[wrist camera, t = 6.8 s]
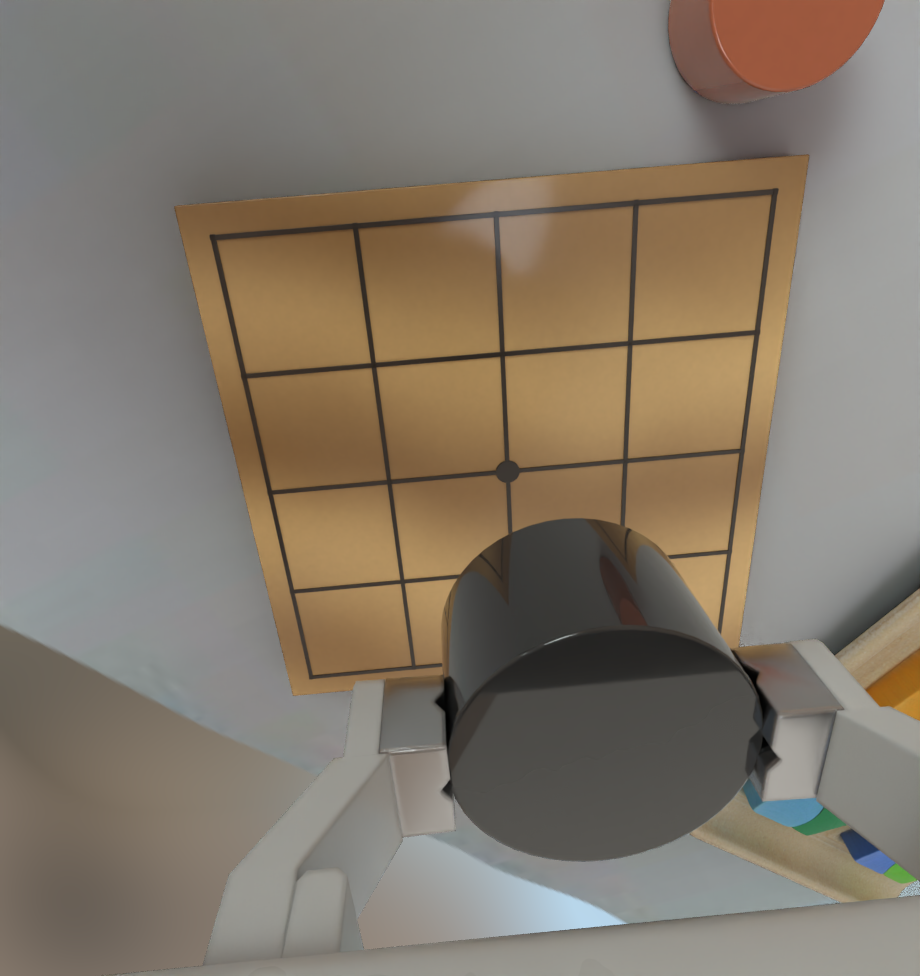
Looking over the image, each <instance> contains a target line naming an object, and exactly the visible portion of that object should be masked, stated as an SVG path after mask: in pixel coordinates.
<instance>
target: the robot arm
mask: <svg viewBox="0 0 920 976" xmlns="http://www.w3.org/2000/svg"><path fill="white" fill-rule="evenodd" d="M730 649H731V651H732V652H733V654H734V655H735V657H736V658H737V660H738V661H739V663H740V664H741V666H742V667H743V669H744V670H745V672H746V673H747V675H748V676H749V678H750V679H751V681H752V683H753V685H754V687H755V689H756V691H757V693H758V695H759V699H760V702H761V706H762V710H763V727H762V734H763V742H762V746H761V750H760V752H759V754H758V757H757V761H756V764H755V767H754V769H753V771H752V773H751V775H750V776H749V779H750V781H751V782H752V784H753V786H754V788H755V790H756V791H757V793H758V795H759V797H760V798H761V800H762V802H763V801H778V800H792V799H807V798H816V801H817V802H818V803H820V804H821V805H822V806H823V807H825V808H826V809H827V810H829V811H830V812H831V813H832V814H834V815H835V816H836V817H837V818H839V819H840V820H841V821H843V822H844V823H845V824H846V825H848V826H849V827H850V828H852V829H853V830H854V831H855V832H857V833H858V834H859V835H861V836H862V837H863V838H864V839H866V840H867V841H868V842H869V843H871V844H872V845H873V846H875V847H876V848H877V849H878V850H880V851H881V852H882V853H884V854H885V855H886V856H887V857H889V858H890V859H891V860H893V861H894V862H895V863H896V864H898V865H899V866H900V867H902V868H903V869H904V870H905V871H907V872H908V873H909V874H910V875H912V876H913V877H914V878H916V879H917V880H918V881H919V882H920V721H919V720H916V719H914V718H912V717H910V716H908V715H906V714H904V713H902V712H900V711H898V710H896V709H894V708H892V707H890V706H886V707H880V706H879V705H878V704H877V703H876V702H875V701H874V700H873V698H872V697H871V696H870V695H869V694H868V693H867V692H866V691H865V689H864V688H863V687H862V686H861V685H860V684H859V683H858V682H857V680H856V679H855V678H854V677H853V676H852V675H851V674H850V673H849V671H848V670H847V669H846V668H845V667H844V666H843V665H842V664H841V662H840V661H839V660H838V659H837V658H836V657H835V656H834V655H833V653H832V652H831V651H830V650H829V649H828V648H827V647H826V646H825V644H824V643H823V642H821V641H819V640H817V639H808V640H799V641H790V642H785V643H776V644H766V645H756V646H746V647H736V648H730ZM445 711H446V694H445V679H444V675H429V676H415V677H400V678H386V679H379V680H365V681H356V683H355V685H354V687H353V690H352V697H351V704H350V711H349V718H348V725H347V732H346V739H345V746H344V753H343V757H342V758H334V759H333V760H332V761H331V762H330V763H329V764H328V765H327V767H326V768H325V769H324V770H323V771H322V772H321V773H320V774H319V775H318V776H317V778H316V779H315V780H314V781H313V782H312V783H311V784H310V785H309V786H308V788H307V789H306V790H305V791H304V792H303V793H302V794H301V795H300V797H299V798H298V799H297V800H296V801H295V802H294V803H293V804H292V805H291V806H290V807H289V809H288V810H287V811H286V812H285V813H284V814H283V815H282V816H281V817H280V819H279V820H278V821H277V822H276V823H275V824H274V825H273V826H272V828H271V829H270V830H269V831H268V832H267V833H266V834H265V835H264V836H263V837H262V838H261V840H260V841H259V842H258V843H257V844H256V845H255V846H254V848H252V850H251V851H250V852H249V853H248V854H247V855H246V856H245V857H244V858H243V860H242V861H241V862H240V863H239V864H238V865H237V866H236V867H235V868H234V870H233V871H232V872H231V873H230V874H229V876H228V879H227V883H226V887H225V890H224V893H223V897H222V900H221V904H220V907H219V910H218V914H217V917H216V921H215V924H214V928H213V931H212V935H211V938H210V941H209V945H208V948H207V952H206V955H205V959H204V962H203V966H194V967H184V968H174V969H164V970H153V971H145V972H144V971H143V972H134V973H123V974H114V975H103V976H920V895H916V896H906V897H896V898H886V899H876V900H866V901H856V902H846V903H836V904H826V905H816V906H806V907H796V908H785V909H775V910H765V911H755V912H745V913H734V914H724V915H714V916H704V917H693V918H683V919H673V920H663V921H652V922H642V923H632V924H622V925H612V926H602V927H591V928H581V929H570V930H560V931H550V932H540V933H530V934H520V935H509V936H499V937H489V938H479V939H469V940H458V941H449V942H438V943H428V944H418V945H408V946H397V947H387V948H377V949H367V950H364V947H363V943H362V939H361V934H360V930H359V925H358V921H357V919H358V917H359V916H360V914H361V912H362V911H363V909H364V907H365V905H366V903H367V902H368V900H369V898H370V897H371V895H372V893H373V892H374V890H375V888H376V886H377V885H378V883H379V881H380V879H381V878H382V876H383V874H384V873H385V871H386V869H387V867H388V866H389V864H390V862H391V860H392V859H393V857H394V855H395V854H396V852H397V850H398V848H399V847H400V845H401V843H402V841H403V839H402V838H403V837H410V836H419V835H427V834H435V833H443V832H450V831H456V829H455V805H454V794H453V790H452V784H451V783H450V781H449V780H450V763H449V754H448V743H447V725H446V716H445Z"/></svg>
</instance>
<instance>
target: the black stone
mask: <svg viewBox="0 0 920 976" xmlns="http://www.w3.org/2000/svg"><path fill="white" fill-rule="evenodd" d="M441 646H442V671H443V675H444V679H445V694H446V711H445V716H446V725H447V743H448V754H449V763H450V780H449V781H450V783H451V784H452V790H453V794H454V797H455V799H456V800H457V802H458V804H459V805H460V807H461V808H462V810H463V812H464V813H465V814H466V815H467V816H468V818H469V819H470V820H471V821H472V822H473V823H474V824H475V825H476V826H477V827H478V828H480V829H481V830H482V831H483V832H484V833H485V834H487V835H488V836H490V837H492V838H493V839H495V840H496V841H498V842H500V843H502V844H504V845H506V846H508V847H510V848H512V849H514V850H517V851H520V852H523V853H526V854H529V855H533V856H538V857H542V858H546V859H553V860H561V861H580V862H586V861H603V860H610V859H617V858H623V857H628V856H632V855H636V854H640V853H644V852H647V851H650V850H653V849H656V848H659V847H661V846H664V845H666V844H668V843H671V842H673V841H675V840H677V839H679V838H681V837H683V836H685V835H687V834H689V833H691V832H692V831H694V830H696V829H697V828H699V827H700V826H702V825H703V824H705V823H706V822H708V821H709V820H710V819H711V818H713V817H714V816H715V815H716V814H718V813H719V812H720V811H721V810H722V809H723V808H724V807H725V806H726V805H727V804H728V803H729V802H730V801H731V800H732V799H733V798H734V797H735V796H736V795H737V793H738V792H739V791H740V790H741V788H742V787H743V786H744V784H745V783H746V781H747V780H748V778H749V776H750V775H751V773H752V771H753V769H754V767H755V764H756V761H757V757H758V754H759V752H760V750H761V746H762V742H763V734H762V727H763V710H762V706H761V702H760V699H759V695H758V693H757V691H756V689H755V687H754V685H753V683H752V681H751V679H750V678H749V676H748V675H747V673H746V672H745V670H744V669H743V667H742V666H741V664H740V663H739V661H738V660H737V658H736V657H735V655H734V654H733V652H732V651H731V649H730V648H729V646H728V645H727V643H726V642H725V640H724V639H723V637H722V636H721V634H720V633H719V631H718V630H717V628H716V627H715V625H714V624H713V622H712V621H711V619H710V618H709V616H708V615H707V613H706V612H705V610H704V609H703V607H702V606H701V604H700V603H699V601H698V600H697V598H696V597H695V595H694V594H693V592H692V591H691V589H690V588H689V586H688V585H687V583H686V582H685V580H684V579H683V577H682V576H681V574H680V573H679V571H678V570H677V568H676V567H675V565H674V564H673V562H672V561H671V560H670V558H669V557H668V556H667V554H666V553H665V552H663V551H662V550H661V549H660V548H659V547H658V546H657V545H656V544H655V543H654V542H652V541H651V540H649V539H648V538H646V537H645V536H644V535H642V534H640V533H638V532H636V531H634V530H632V529H630V528H627V527H624V526H621V525H619V524H616V523H612V522H607V521H603V520H598V519H587V518H563V519H557V520H550V521H544V522H541V523H537V524H533V525H529V526H527V527H524V528H522V529H519V530H517V531H514V532H512V533H510V534H508V535H506V536H504V537H503V538H501V539H499V540H497V541H496V542H494V543H493V544H491V545H490V546H489V547H487V548H486V549H484V550H483V551H482V552H481V553H480V554H479V555H478V556H476V557H475V558H474V559H473V560H472V561H471V562H470V563H469V565H468V566H467V567H466V568H465V569H464V570H463V571H462V573H461V574H460V576H459V577H458V579H457V580H456V582H455V583H454V585H453V587H452V589H451V591H450V593H449V595H448V597H447V600H446V603H445V606H444V610H443V614H442V621H441Z"/></svg>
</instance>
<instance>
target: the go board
mask: <svg viewBox="0 0 920 976" xmlns="http://www.w3.org/2000/svg"><path fill="white" fill-rule="evenodd" d="M808 162H809V155H808V154H807V155H793V156H781V157H769V158H756V159H744V160H732V161H719V162H707V163H695V164H682V165H670V166H657V167H645V168H633V169H620V170H608V171H596V172H583V173H571V174H559V175H546V176H534V177H522V178H509V179H497V180H485V181H472V182H460V183H448V184H435V185H423V186H411V187H398V188H386V189H374V190H361V191H349V192H337V193H324V194H312V195H300V196H287V197H275V198H263V199H250V200H238V201H226V202H213V203H201V204H189V205H177V206H174V209H175V213H176V217H177V221H178V225H179V229H180V233H181V237H182V242H183V246H184V250H185V254H186V258H187V262H188V266H189V270H190V274H191V278H192V283H193V287H194V291H195V295H196V299H197V303H198V307H199V311H200V315H201V320H202V324H203V328H204V332H205V336H206V340H207V344H208V348H209V352H210V357H211V361H212V365H213V369H214V373H215V377H216V381H217V385H218V389H219V394H220V398H221V402H222V406H223V410H224V414H225V418H226V422H227V426H228V431H229V435H230V439H231V443H232V447H233V451H234V455H235V459H236V463H237V468H238V472H239V476H240V480H241V484H242V488H243V492H244V496H245V500H246V504H247V509H248V513H249V517H250V521H251V525H252V529H253V533H254V537H255V541H256V546H257V550H258V554H259V558H260V562H261V566H262V570H263V574H264V578H265V583H266V587H267V591H268V595H269V599H270V603H271V607H272V611H273V615H274V620H275V624H276V628H277V632H278V636H279V640H280V644H281V648H282V652H283V657H284V661H285V665H286V669H287V673H288V677H289V681H290V685H291V689H292V693H293V696H297V695H308V694H318V693H329V692H339V691H350V690H353V687H354V685H355V683H356V681H365V680H379V679H386V678H400V677H415V676H429V675H443V671H442V646H441V621H442V614H443V610H444V606H445V603H446V600H447V597H448V595H449V593H450V591H451V589H452V587H453V585H454V583H455V582H456V580H457V579H458V577H459V576H460V574H461V573H462V571H463V570H464V569H465V568H466V567H467V566H468V565H469V563H470V562H471V561H472V560H473V559H474V558H475V557H476V556H478V555H479V554H480V553H481V552H482V551H483V550H484V549H486V548H487V547H489V546H490V545H491V544H493V543H494V542H496V541H497V540H499V539H501V538H503V537H504V536H506V535H508V534H510V533H512V532H514V531H517V530H519V529H522V528H524V527H527V526H529V525H533V524H537V523H541V522H544V521H550V520H557V519H563V518H587V519H598V520H603V521H607V522H612V523H616V524H619V525H621V526H624V527H627V528H630V529H632V530H634V531H636V532H638V533H640V534H642V535H644V536H645V537H646V538H648V539H649V540H651V541H652V542H654V543H655V544H656V545H657V546H658V547H659V548H660V549H661V550H662V551H663V552H665V553H666V554H667V556H668V557H669V558H670V560H671V561H672V562H673V564H674V565H675V567H676V568H677V570H678V571H679V573H680V574H681V576H682V577H683V579H684V580H685V582H686V583H687V585H688V586H689V588H690V589H691V591H692V592H693V594H694V595H695V597H696V598H697V600H698V601H699V603H700V604H701V606H702V607H703V609H704V610H705V612H706V613H707V615H708V616H709V618H710V619H711V621H712V622H713V624H714V625H715V627H716V628H717V630H718V631H719V633H720V634H721V636H722V637H723V639H724V640H725V642H726V643H727V645H728V646H729V648H736V647H739V641H740V634H741V627H742V620H743V613H744V606H745V599H746V592H747V585H748V578H749V571H750V564H751V557H752V550H753V543H754V536H755V529H756V523H757V516H758V509H759V502H760V495H761V488H762V481H763V474H764V467H765V460H766V453H767V446H768V439H769V432H770V425H771V418H772V411H773V405H774V398H775V391H776V384H777V377H778V370H779V363H780V356H781V349H782V342H783V335H784V328H785V321H786V314H787V307H788V300H789V293H790V287H791V280H792V273H793V266H794V259H795V252H796V245H797V238H798V231H799V224H800V217H801V210H802V203H803V196H804V189H805V182H806V175H807V169H808Z"/></svg>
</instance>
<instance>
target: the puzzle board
mask: <svg viewBox="0 0 920 976" xmlns="http://www.w3.org/2000/svg"><path fill="white" fill-rule="evenodd" d="M835 657H836V658H837V659H838V660H839V661H840V662H841V664H842V665H843V666H844V667H845V668H846V669H847V670H848V671H849V673H850V674H851V675H852V676H853V677H854V678H855V679H856V680H857V682H858V683H859V684H860V685H861V686H862V687H863V688H864V689H865V691H866V692H867V693H868V694H869V695H870V696H871V697H872V698H873V700H874V701H875V702H876V703H877V704H878V705H879V706H880V707H886V706H890V707H892V708H894V709H896V710H898V711H900V712H902V713H904V714H906V715H908V716H910V717H912V718H914V719H916V720H919V721H920V588H919V589H918V590H917V591H915V592H914V593H913V594H912V595H910V596H909V597H908V598H907V599H905V600H904V601H903V602H902V603H900V604H899V605H898V606H896V607H895V608H894V609H893V610H891V611H890V612H889V613H888V614H886V615H885V616H884V617H883V618H881V619H880V620H879V621H878V622H876V623H875V624H874V625H873V626H871V627H870V628H869V629H868V630H866V631H865V632H864V633H863V634H861V635H860V636H859V637H857V638H856V639H855V640H854V641H852V642H851V643H850V644H849V645H847V646H846V647H845V648H843V649H842V650H841V651H840V652H838V653H837V654H836V655H835ZM689 834H691V835H692V836H694V837H695V838H698V839H700V840H702V841H704V842H706V843H709V844H711V845H713V846H715V847H718V848H720V849H722V850H724V851H727V852H729V853H731V854H733V855H736V856H738V857H740V858H742V859H745V860H747V861H749V862H751V863H754V864H756V865H758V866H760V867H763V868H765V869H767V870H769V871H772V872H774V873H776V874H778V875H781V876H783V877H785V878H787V879H790V880H792V881H794V882H796V883H798V884H801V885H803V886H805V887H807V888H810V889H812V890H814V891H816V892H819V893H821V894H823V895H825V896H828V897H830V898H832V899H834V900H836V901H839V902H841V903H846V902H856V901H866V900H876V899H886V898H896V897H898V896H899V895H900V893H901V892H902V890H903V889H904V888H906V887H907V886H908V885H910V884H911V883H913V882H915V881H917V879H916V878H914V877H913V876H912V875H910V874H909V873H908V872H907V871H905V870H904V869H903V868H902V867H900V866H899V865H898V864H896V863H895V862H894V861H893V860H891V859H890V858H889V857H887V856H886V855H885V854H884V853H882V852H881V851H880V850H878V849H877V848H876V847H875V846H873V845H872V844H871V843H869V842H868V841H867V840H866V839H864V838H863V837H862V836H861V835H859V834H858V833H857V832H855V831H854V830H853V829H852V828H850V827H849V826H848V825H846V824H845V823H844V822H843V821H841V820H840V819H839V818H837V817H836V816H835V815H834V814H832V813H831V812H830V811H829V810H827V809H826V808H825V807H823V806H822V805H821V804H820V803H818V802H817V801H816V798H807V799H792V800H778V801H763V802H762V800H761V798H760V797H759V795H758V793H757V791H756V790H755V788H754V786H753V784H752V782H751V781H750V779H749V778H748V780H747V781H746V783H745V784H744V786H743V787H742V788H741V790H740V791H739V792H738V793H737V795H736V796H735V797H734V798H733V799H732V800H731V801H730V802H729V803H728V804H727V805H726V806H725V807H724V808H723V809H722V810H721V811H720V812H719V813H718V814H716V815H715V816H714V817H713V818H711V819H710V820H709V821H708V822H706V823H705V824H703V825H702V826H700V827H699V828H697V829H696V830H694V831H692V832H691V833H689Z"/></svg>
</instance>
